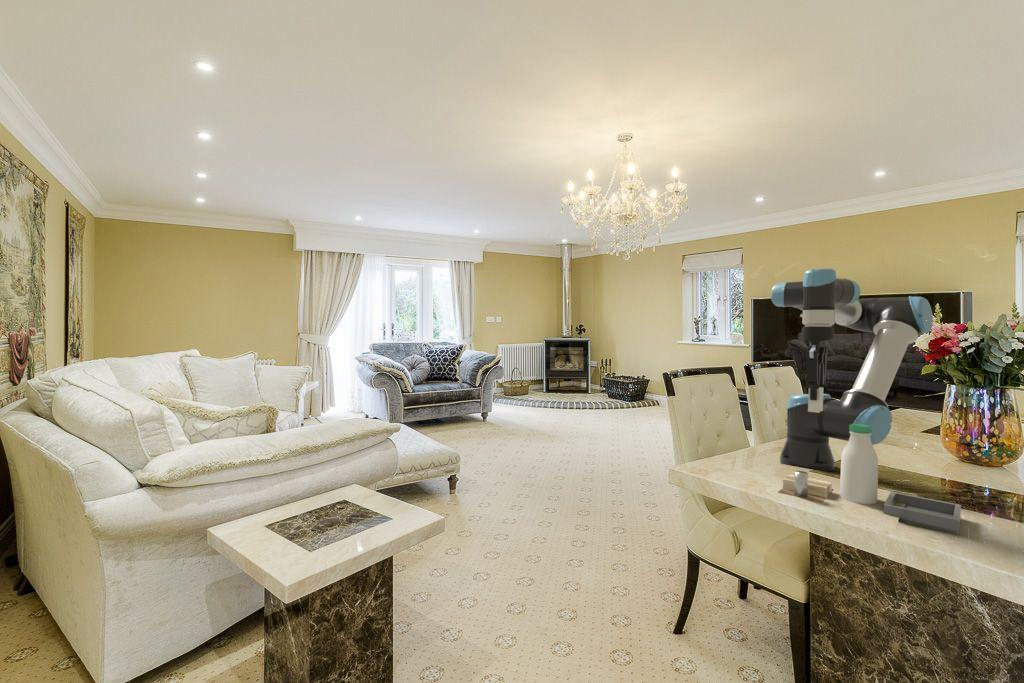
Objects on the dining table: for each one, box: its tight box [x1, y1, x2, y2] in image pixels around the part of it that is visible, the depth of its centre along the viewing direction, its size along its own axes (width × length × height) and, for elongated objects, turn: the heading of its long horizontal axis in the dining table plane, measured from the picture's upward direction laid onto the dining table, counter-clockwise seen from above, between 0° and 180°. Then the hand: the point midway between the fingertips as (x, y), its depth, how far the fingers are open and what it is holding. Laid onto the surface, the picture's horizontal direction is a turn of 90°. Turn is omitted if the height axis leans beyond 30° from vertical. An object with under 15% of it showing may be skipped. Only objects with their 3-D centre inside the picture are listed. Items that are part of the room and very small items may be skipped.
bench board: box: [777, 487, 835, 503], centre depth 129 cm, size 14×10×1 cm
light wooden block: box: [782, 474, 833, 499], centre depth 129 cm, size 6×10×2 cm, turn 46°
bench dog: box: [794, 470, 809, 499], centre depth 125 cm, size 3×3×6 cm
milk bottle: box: [839, 424, 879, 505], centre depth 123 cm, size 8×8×20 cm
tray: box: [882, 491, 962, 536], centre depth 114 cm, size 13×13×3 cm
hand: (815, 411), depth 134 cm, fingers open, 3 cm apart
